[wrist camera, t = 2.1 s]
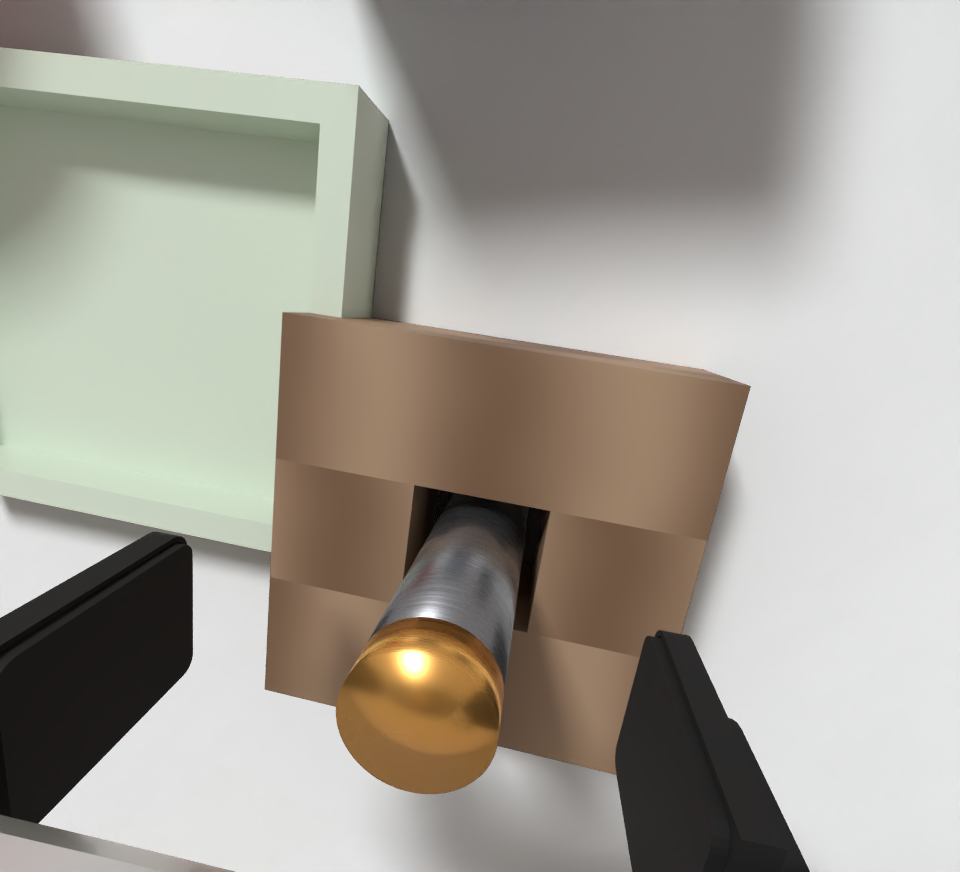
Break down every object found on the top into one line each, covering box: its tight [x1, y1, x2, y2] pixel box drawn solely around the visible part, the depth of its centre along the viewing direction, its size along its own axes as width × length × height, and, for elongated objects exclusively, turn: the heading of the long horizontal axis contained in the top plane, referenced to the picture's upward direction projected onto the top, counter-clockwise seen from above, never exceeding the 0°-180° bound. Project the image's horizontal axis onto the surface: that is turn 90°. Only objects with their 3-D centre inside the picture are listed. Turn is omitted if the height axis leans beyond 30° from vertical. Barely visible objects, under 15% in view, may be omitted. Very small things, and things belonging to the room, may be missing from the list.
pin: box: [336, 493, 529, 794], centre depth 13 cm, size 3×3×10 cm
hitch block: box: [265, 312, 751, 775], centre depth 16 cm, size 12×12×4 cm
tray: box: [0, 47, 389, 552], centre depth 17 cm, size 16×14×2 cm
